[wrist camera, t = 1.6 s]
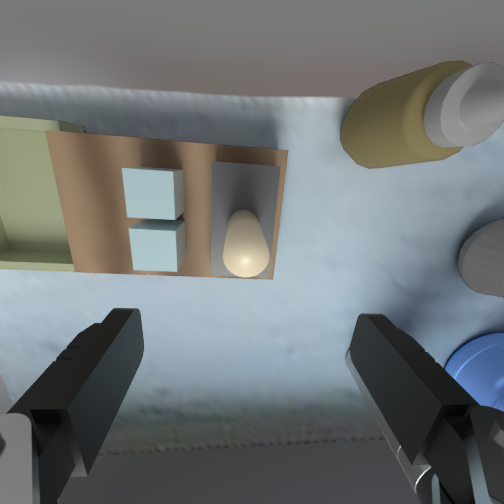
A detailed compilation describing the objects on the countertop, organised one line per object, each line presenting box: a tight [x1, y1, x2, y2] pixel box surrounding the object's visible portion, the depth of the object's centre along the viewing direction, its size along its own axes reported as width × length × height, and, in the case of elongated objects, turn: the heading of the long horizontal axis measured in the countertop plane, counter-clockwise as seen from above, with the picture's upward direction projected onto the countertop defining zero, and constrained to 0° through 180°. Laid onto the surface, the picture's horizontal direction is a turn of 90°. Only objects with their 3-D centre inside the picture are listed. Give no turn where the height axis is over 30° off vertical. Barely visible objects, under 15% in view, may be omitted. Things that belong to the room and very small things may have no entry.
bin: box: [0, 116, 84, 272], centre depth 27 cm, size 12×16×4 cm
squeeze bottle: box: [340, 61, 504, 169], centre depth 20 cm, size 8×8×18 cm
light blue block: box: [129, 218, 186, 272], centre depth 23 cm, size 4×4×4 cm
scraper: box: [211, 161, 281, 278], centre depth 20 cm, size 6×11×10 cm, turn 176°
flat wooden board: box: [45, 130, 288, 280], centre depth 27 cm, size 22×14×6 cm, turn 86°
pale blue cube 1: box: [122, 167, 184, 220], centre depth 22 cm, size 4×4×4 cm
